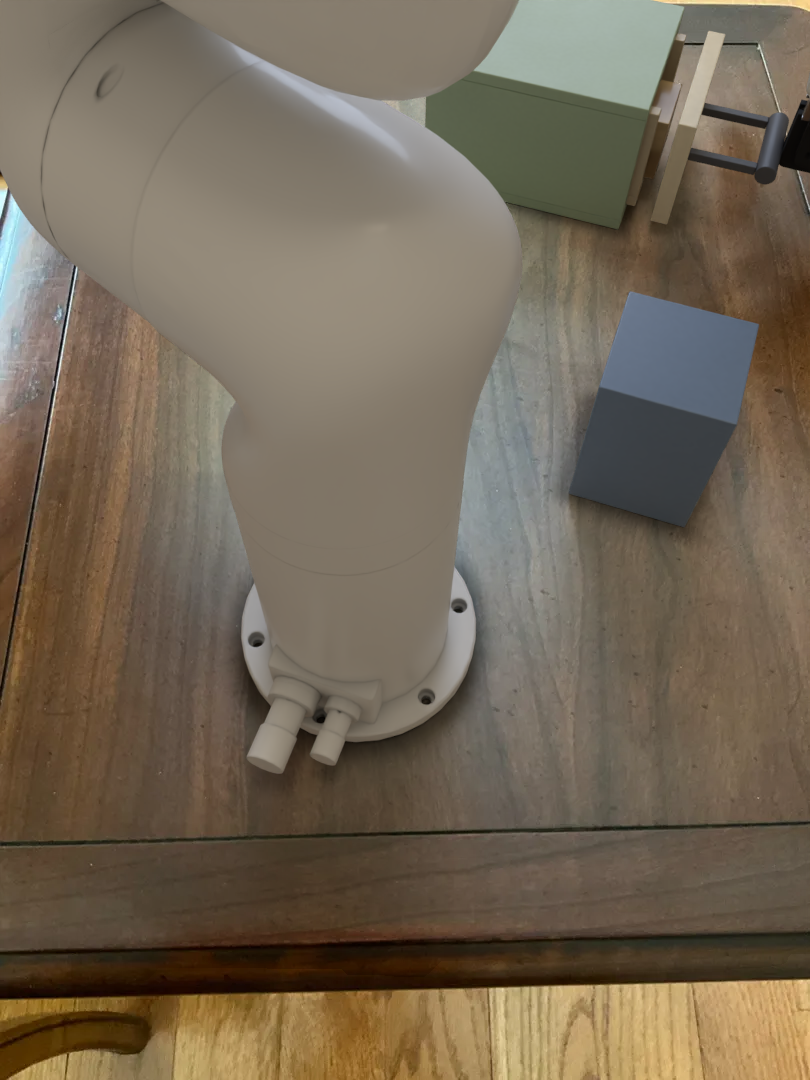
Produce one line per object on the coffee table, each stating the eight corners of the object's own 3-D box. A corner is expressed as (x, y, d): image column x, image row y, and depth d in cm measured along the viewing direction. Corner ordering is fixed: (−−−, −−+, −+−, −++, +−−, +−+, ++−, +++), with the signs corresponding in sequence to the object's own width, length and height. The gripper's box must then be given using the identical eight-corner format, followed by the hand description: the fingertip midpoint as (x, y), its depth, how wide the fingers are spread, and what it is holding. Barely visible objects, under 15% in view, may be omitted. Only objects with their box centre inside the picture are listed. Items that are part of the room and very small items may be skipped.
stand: (684, 527, 56) (737, 425, 48) (567, 493, 57) (598, 387, 49) (706, 435, 59) (759, 323, 51) (595, 405, 61) (629, 290, 52)
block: (653, 179, 68) (669, 124, 64) (591, 165, 69) (603, 109, 65) (666, 140, 70) (682, 83, 66) (606, 126, 71) (618, 69, 67)
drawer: (774, 150, 71) (813, 52, 65) (751, 245, 66) (791, 149, 60) (521, 93, 74) (534, -7, 68) (481, 180, 69) (491, 81, 63)
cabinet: (652, 128, 74) (685, 6, 65) (618, 230, 68) (649, 110, 60) (470, 87, 76) (479, -36, 68) (423, 182, 71) (426, 60, 62)
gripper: (1000, -41, 46) (844, 251, 62) (1013, -187, 53) (870, 109, 69) (839, -71, 47) (727, 223, 63) (873, -210, 54) (764, 86, 70)
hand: (802, 163), depth 66 cm, fingers closed
